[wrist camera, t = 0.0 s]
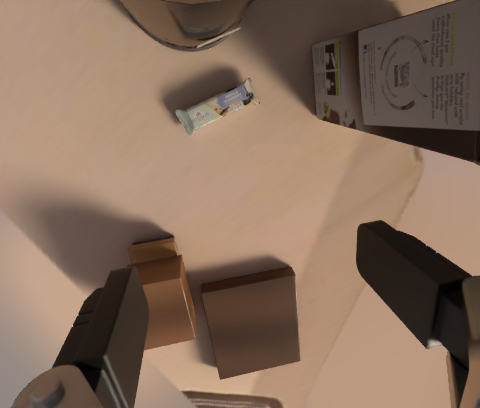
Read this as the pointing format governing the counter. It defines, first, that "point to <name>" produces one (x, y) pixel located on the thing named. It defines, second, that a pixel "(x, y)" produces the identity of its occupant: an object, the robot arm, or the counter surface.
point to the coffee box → (407, 79)
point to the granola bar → (217, 106)
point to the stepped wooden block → (164, 291)
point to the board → (253, 321)
